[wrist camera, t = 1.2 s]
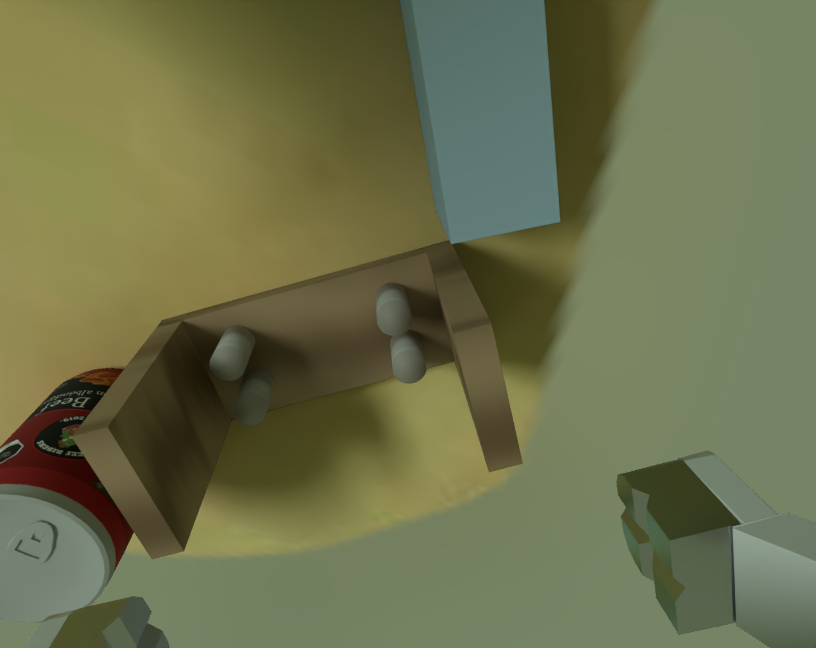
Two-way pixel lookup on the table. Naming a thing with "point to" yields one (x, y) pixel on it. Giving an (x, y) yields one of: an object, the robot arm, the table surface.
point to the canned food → (56, 509)
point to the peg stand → (285, 377)
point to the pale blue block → (485, 113)
